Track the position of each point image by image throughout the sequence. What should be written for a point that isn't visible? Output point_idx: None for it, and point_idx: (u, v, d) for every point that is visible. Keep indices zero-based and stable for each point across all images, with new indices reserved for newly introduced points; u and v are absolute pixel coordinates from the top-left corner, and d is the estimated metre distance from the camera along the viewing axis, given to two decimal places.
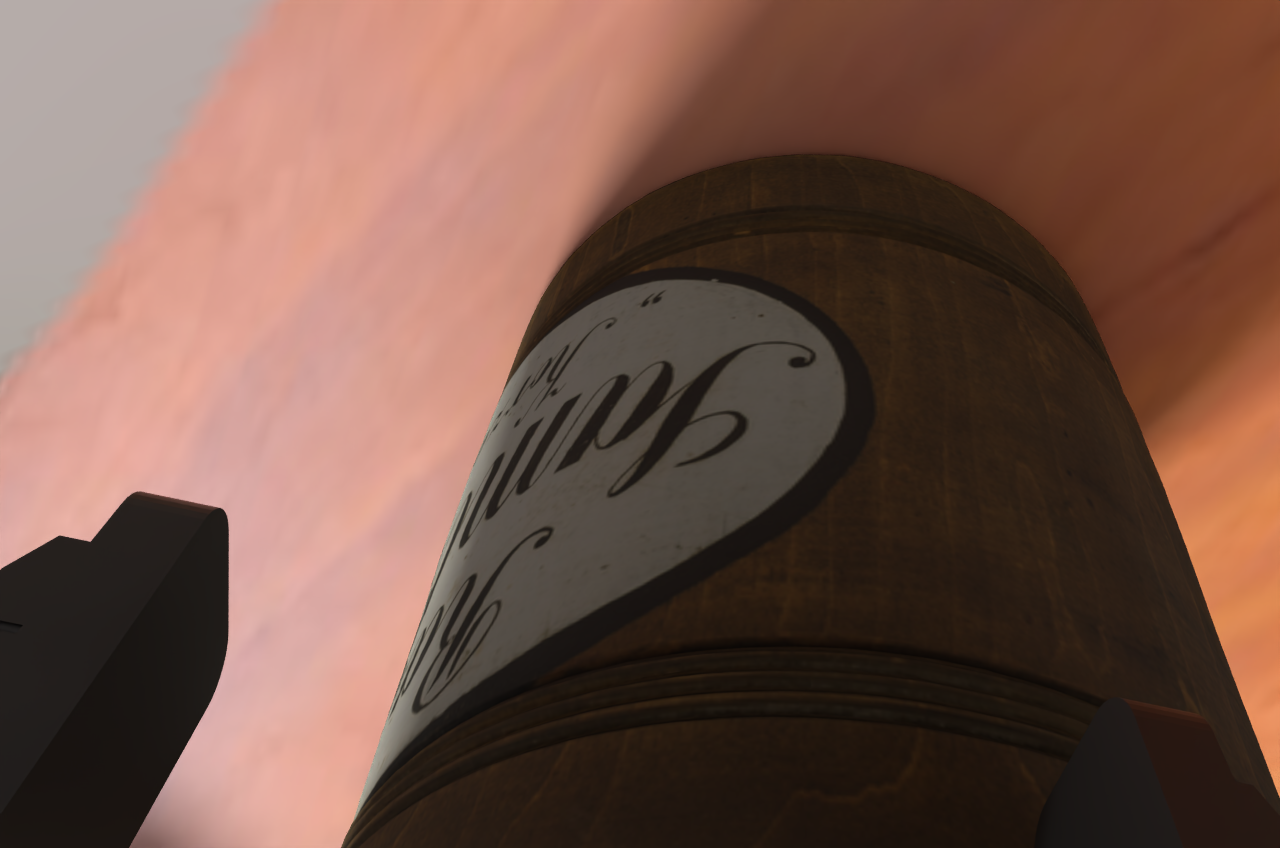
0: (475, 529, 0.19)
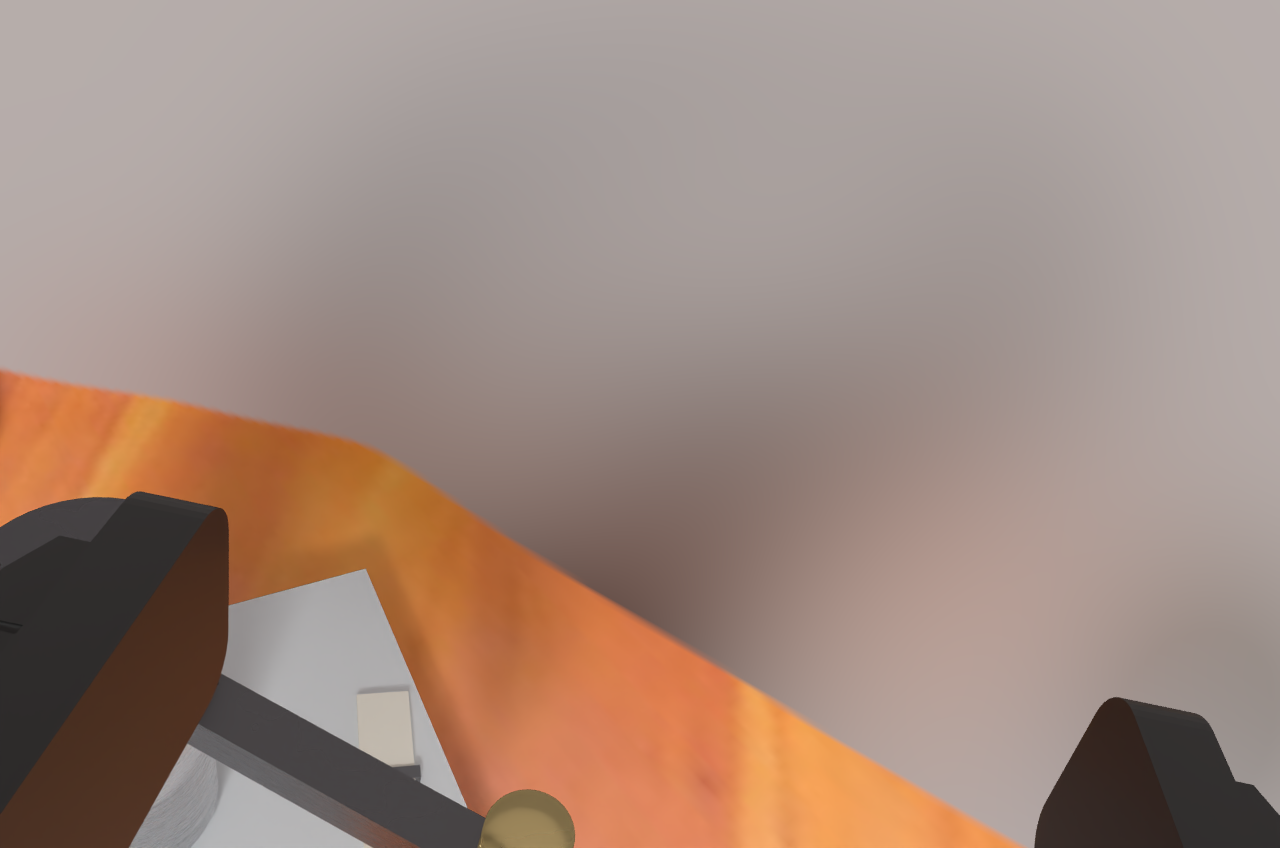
0: None
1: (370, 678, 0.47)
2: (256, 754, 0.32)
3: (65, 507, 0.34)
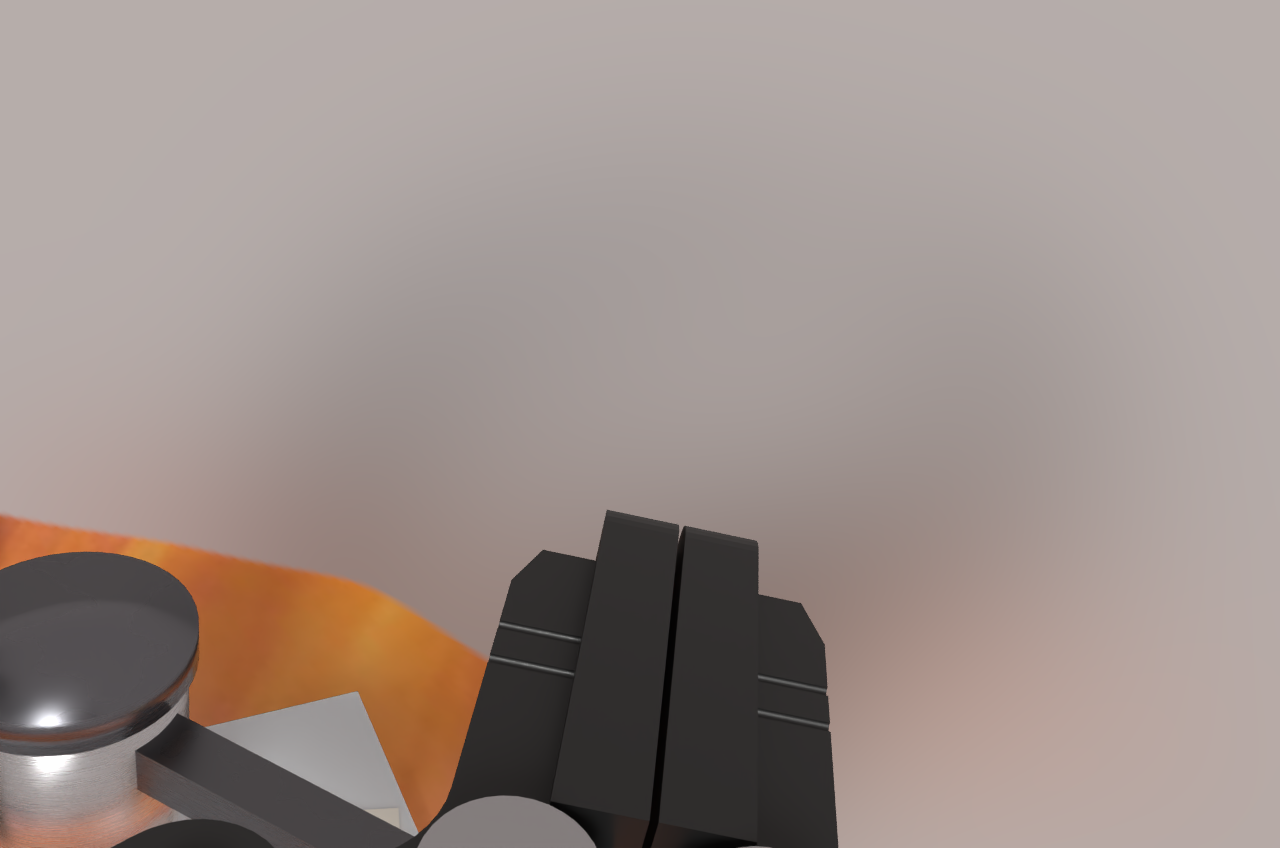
0: None
1: (358, 796, 0.44)
2: (235, 802, 0.31)
3: (56, 559, 0.34)
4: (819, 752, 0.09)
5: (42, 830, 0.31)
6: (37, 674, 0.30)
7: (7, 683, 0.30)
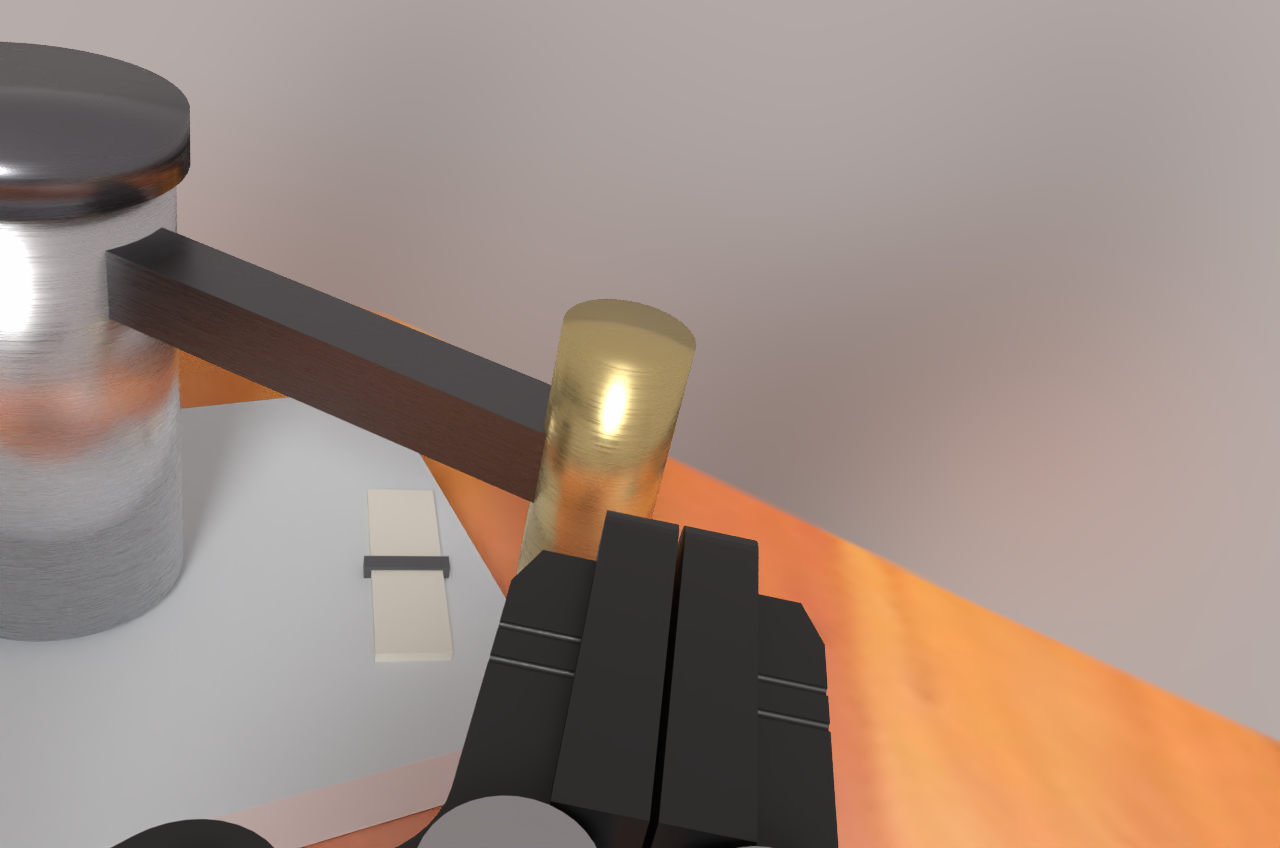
0: None
1: (384, 479, 0.37)
2: (237, 304, 0.23)
3: (5, 45, 0.26)
4: (819, 752, 0.09)
5: None
6: None
7: None
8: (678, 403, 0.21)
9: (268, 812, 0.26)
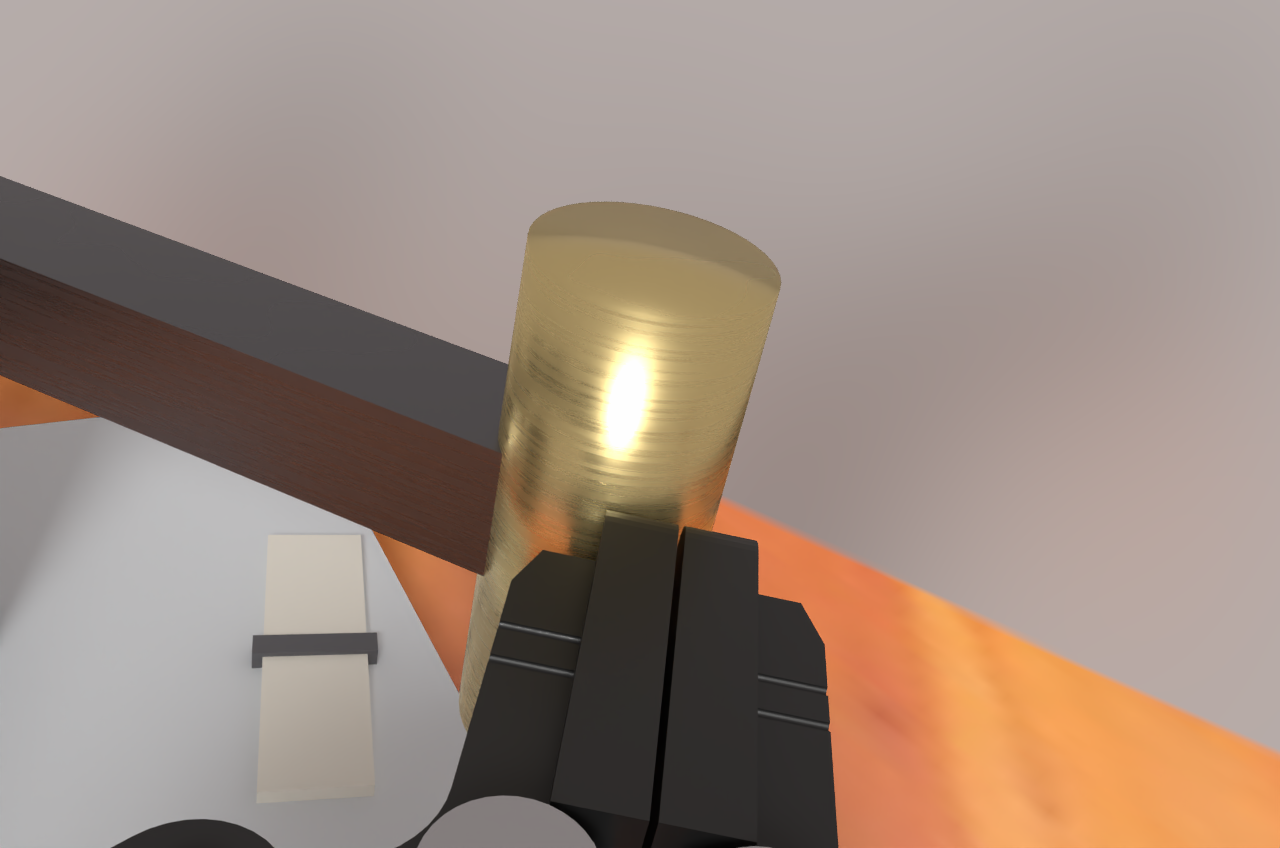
0: None
1: (295, 520, 0.27)
2: None
3: None
4: (819, 752, 0.09)
5: None
6: None
7: None
8: (749, 388, 0.11)
9: None
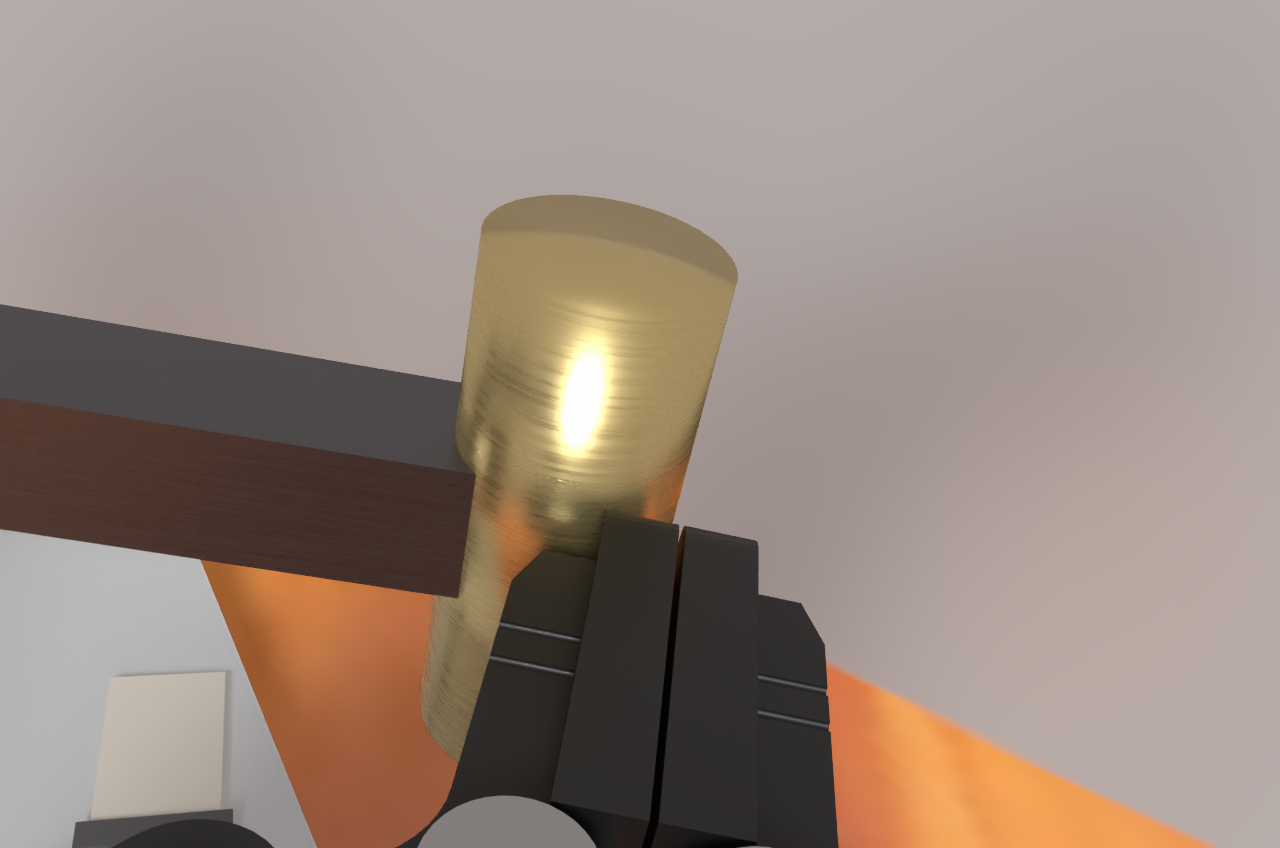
0: None
1: (148, 653, 0.22)
2: None
3: None
4: (819, 752, 0.09)
5: None
6: None
7: None
8: None
9: None
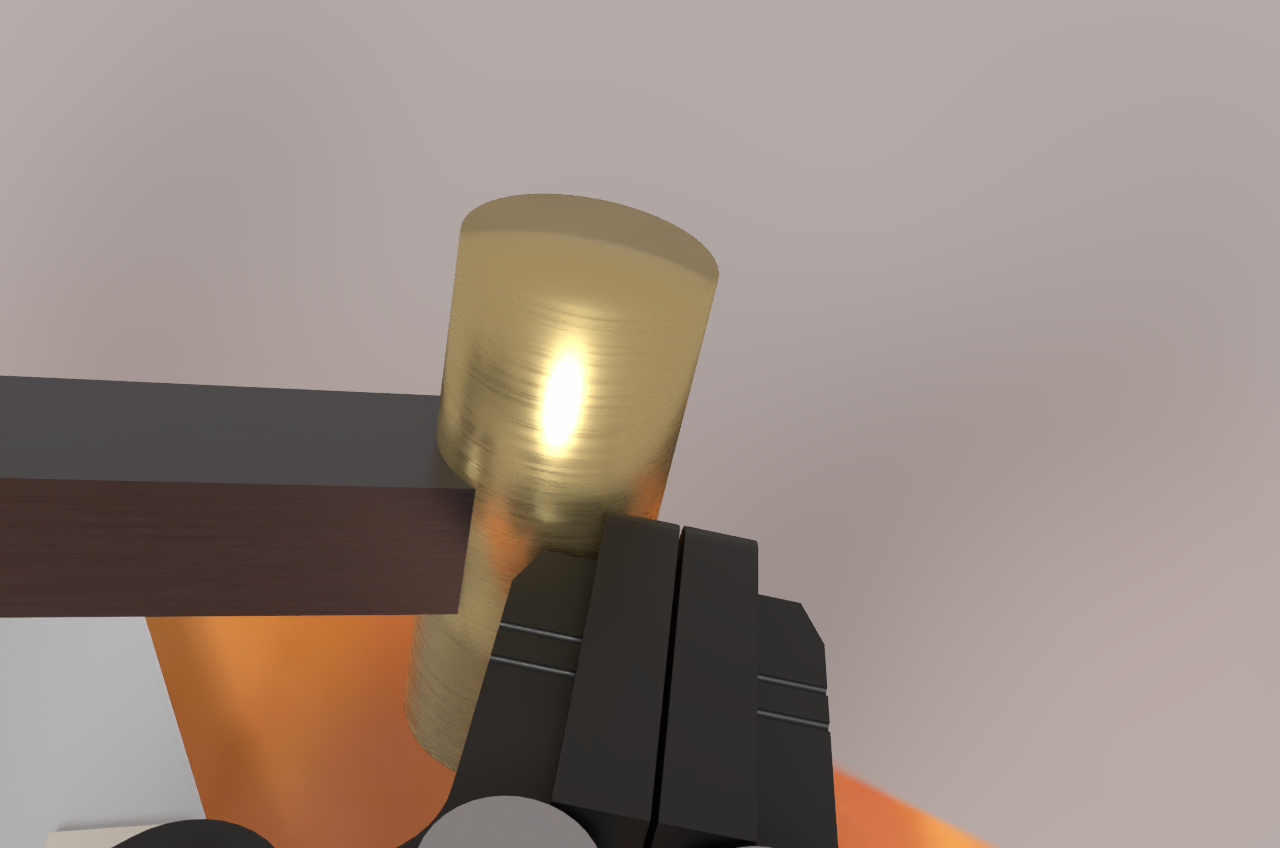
0: None
1: (96, 797, 0.20)
2: None
3: None
4: (819, 752, 0.09)
5: None
6: None
7: None
8: None
9: None
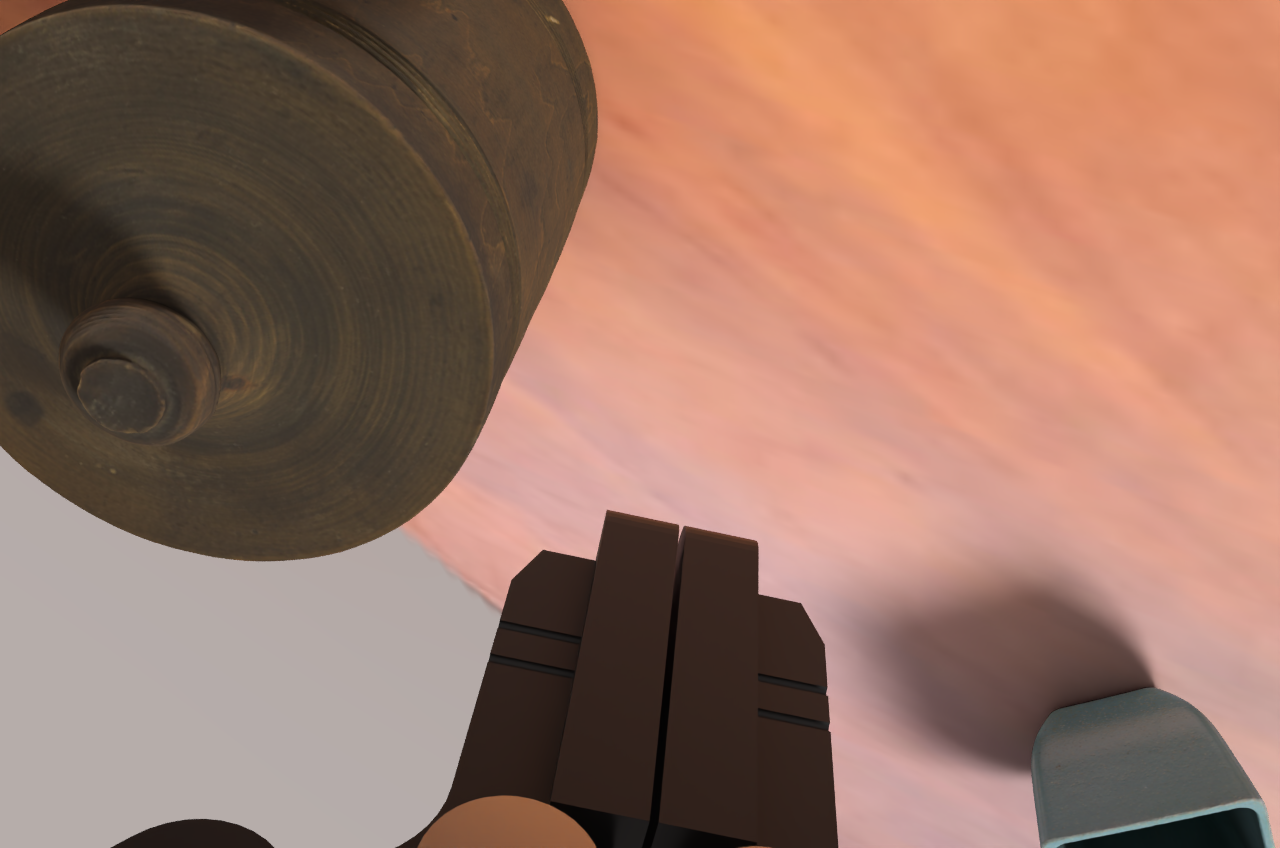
0: None
1: None
2: None
3: None
4: (819, 752, 0.09)
5: None
6: None
7: None
8: None
9: None
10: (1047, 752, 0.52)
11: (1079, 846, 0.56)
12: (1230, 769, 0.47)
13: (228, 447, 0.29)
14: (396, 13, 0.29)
